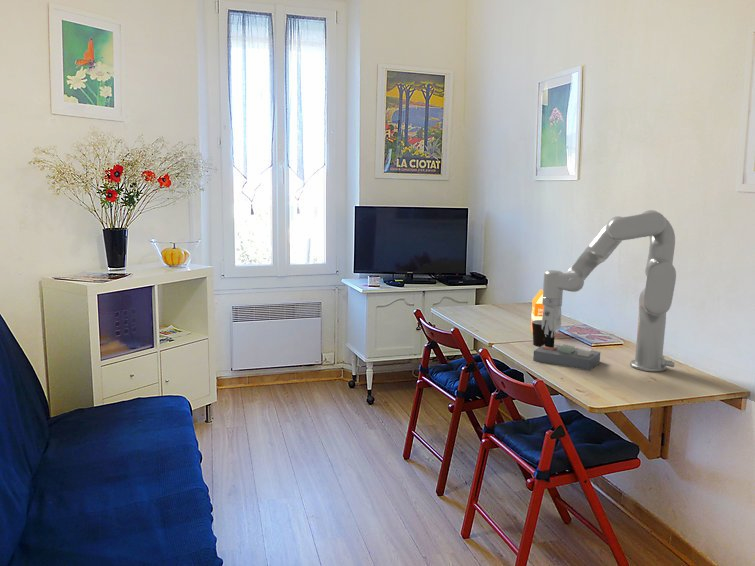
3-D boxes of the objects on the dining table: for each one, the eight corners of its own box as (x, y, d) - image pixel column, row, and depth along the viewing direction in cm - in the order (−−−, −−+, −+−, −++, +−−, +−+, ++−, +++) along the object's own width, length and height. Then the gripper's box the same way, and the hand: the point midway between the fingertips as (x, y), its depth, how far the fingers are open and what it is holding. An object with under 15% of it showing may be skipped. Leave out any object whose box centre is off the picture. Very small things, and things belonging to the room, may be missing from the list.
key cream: (592, 356, 238) (592, 349, 238) (588, 359, 235) (589, 351, 234) (580, 355, 241) (581, 347, 240) (577, 357, 237) (577, 349, 237)
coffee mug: (537, 347, 261) (538, 325, 259) (527, 342, 269) (528, 320, 268) (561, 346, 264) (562, 323, 262) (550, 341, 272) (551, 319, 271)
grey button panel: (599, 361, 242) (600, 352, 241) (589, 370, 230) (590, 360, 230) (545, 352, 254) (546, 343, 253) (533, 360, 243) (533, 350, 242)
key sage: (574, 353, 242) (574, 346, 242) (570, 356, 239) (571, 348, 238) (563, 352, 245) (563, 344, 244) (559, 354, 241) (560, 346, 241)
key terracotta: (556, 353, 246) (557, 346, 246) (552, 356, 243) (553, 348, 242) (545, 352, 249) (546, 344, 248) (542, 354, 245) (542, 346, 245)
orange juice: (547, 330, 292) (549, 289, 288) (550, 334, 283) (552, 292, 280) (530, 329, 293) (532, 288, 289) (533, 334, 284) (535, 292, 281)
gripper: (555, 306, 234) (552, 352, 237) (567, 300, 246) (564, 344, 249) (536, 303, 238) (533, 349, 241) (549, 297, 250) (546, 341, 254)
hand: (549, 346), depth 245 cm, fingers closed
